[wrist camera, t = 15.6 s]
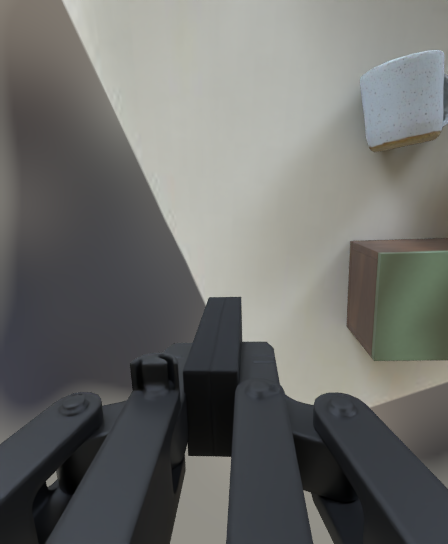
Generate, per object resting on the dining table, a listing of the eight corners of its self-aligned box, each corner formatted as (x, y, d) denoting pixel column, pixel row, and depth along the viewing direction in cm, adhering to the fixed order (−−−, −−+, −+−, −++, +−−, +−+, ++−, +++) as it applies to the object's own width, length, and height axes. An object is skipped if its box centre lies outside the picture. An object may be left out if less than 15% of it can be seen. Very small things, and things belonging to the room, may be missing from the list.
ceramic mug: (358, 158, 39) (386, 149, 32) (349, 85, 38) (377, 58, 30) (449, 137, 38) (501, 123, 31) (444, 62, 37) (497, 27, 29)
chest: (478, 237, 41) (541, 247, 32) (467, 324, 43) (522, 355, 35) (350, 240, 42) (377, 252, 33) (346, 326, 44) (371, 357, 36)
